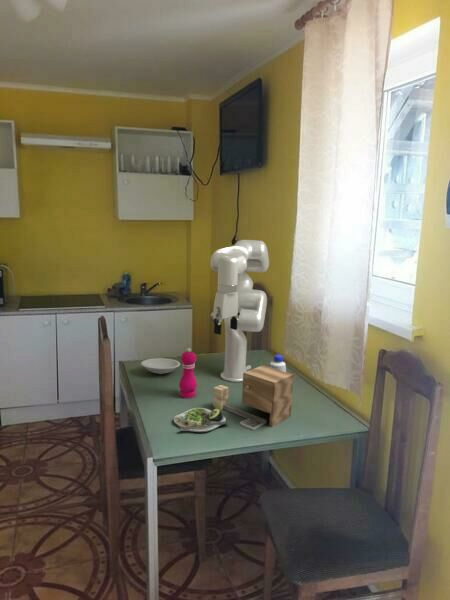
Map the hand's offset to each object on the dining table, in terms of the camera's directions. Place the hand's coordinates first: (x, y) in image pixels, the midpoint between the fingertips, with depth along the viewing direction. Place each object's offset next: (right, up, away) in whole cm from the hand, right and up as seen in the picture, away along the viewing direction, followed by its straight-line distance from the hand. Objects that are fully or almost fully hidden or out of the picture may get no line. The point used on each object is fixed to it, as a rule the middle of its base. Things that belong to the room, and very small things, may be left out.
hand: (225, 331), depth 196 cm
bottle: (+20, -29, +3) cm, 35 cm away
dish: (-30, -21, +31) cm, 48 cm away
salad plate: (-9, -32, -16) cm, 37 cm away
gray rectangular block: (+9, -33, -17) cm, 38 cm away
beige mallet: (+5, -30, -9) cm, 32 cm away
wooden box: (+15, -31, -9) cm, 35 cm away
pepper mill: (-15, -27, +7) cm, 32 cm away
